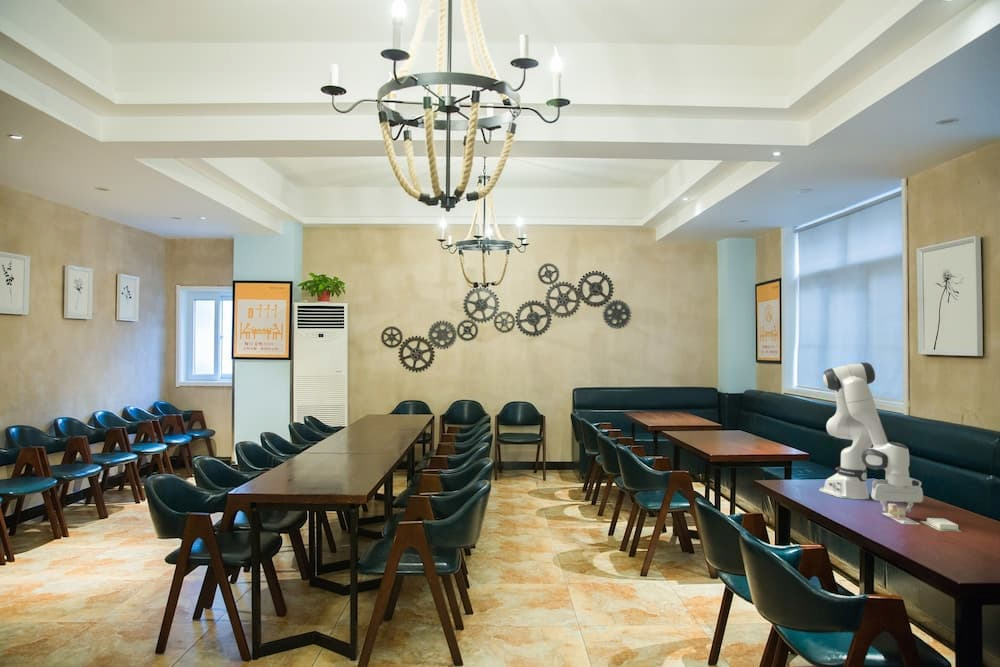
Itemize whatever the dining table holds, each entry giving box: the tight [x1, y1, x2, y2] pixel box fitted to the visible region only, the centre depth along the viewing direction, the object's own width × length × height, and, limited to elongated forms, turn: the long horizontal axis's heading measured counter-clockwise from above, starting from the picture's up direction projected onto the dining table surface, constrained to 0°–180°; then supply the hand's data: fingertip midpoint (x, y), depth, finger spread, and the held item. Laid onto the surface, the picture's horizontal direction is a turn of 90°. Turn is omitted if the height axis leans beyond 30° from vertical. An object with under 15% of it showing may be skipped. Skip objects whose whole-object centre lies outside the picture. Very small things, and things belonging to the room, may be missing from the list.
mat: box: [920, 520, 961, 532], centre depth 260 cm, size 13×9×1 cm
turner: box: [887, 503, 917, 523], centre depth 270 cm, size 15×5×4 cm, turn 175°
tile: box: [926, 517, 959, 530], centre depth 259 cm, size 2×7×9 cm
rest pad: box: [882, 512, 921, 525], centre depth 270 cm, size 16×7×1 cm, turn 176°
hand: (896, 511), depth 273 cm, fingers open, 8 cm apart
